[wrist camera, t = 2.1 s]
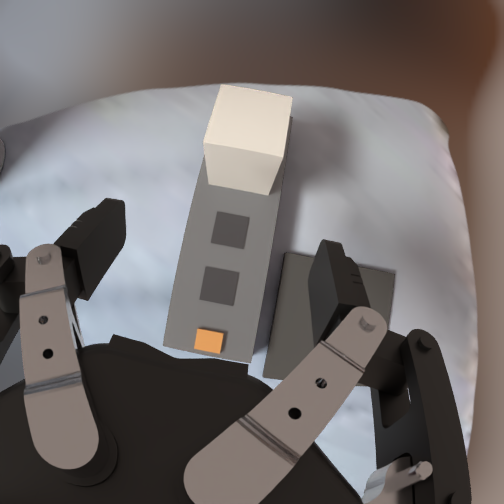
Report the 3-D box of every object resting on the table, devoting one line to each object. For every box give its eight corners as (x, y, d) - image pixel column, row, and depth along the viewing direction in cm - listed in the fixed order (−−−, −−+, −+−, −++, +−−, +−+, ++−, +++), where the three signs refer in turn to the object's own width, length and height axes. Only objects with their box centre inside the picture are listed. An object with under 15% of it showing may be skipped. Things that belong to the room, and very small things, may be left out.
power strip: (168, 341, 25) (161, 346, 22) (219, 117, 28) (219, 100, 25) (248, 357, 25) (251, 364, 22) (287, 130, 29) (293, 114, 26)
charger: (209, 192, 26) (202, 142, 17) (221, 144, 27) (221, 84, 18) (265, 203, 27) (283, 157, 18) (273, 154, 27) (292, 97, 19)
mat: (262, 375, 25) (263, 377, 24) (284, 253, 27) (285, 252, 26) (373, 385, 25) (375, 386, 25) (391, 274, 27) (394, 273, 27)
